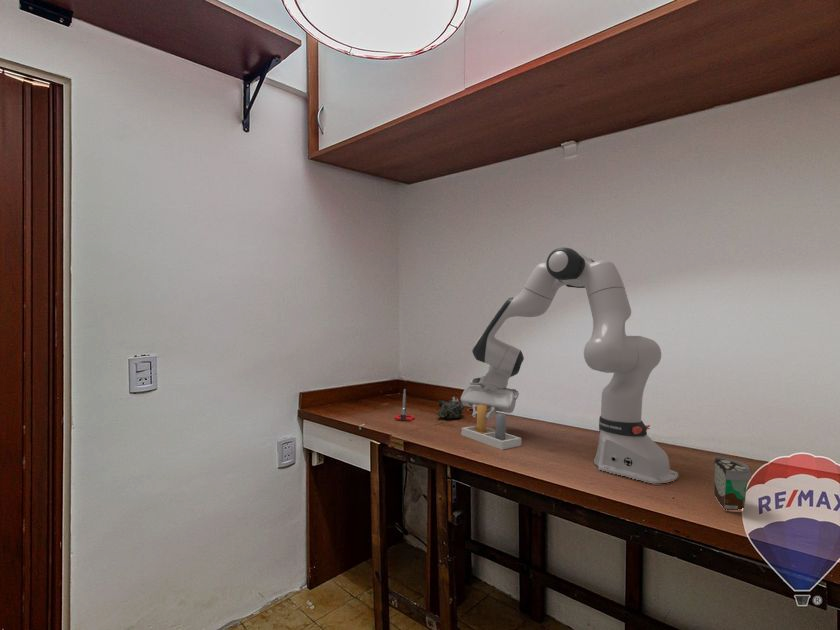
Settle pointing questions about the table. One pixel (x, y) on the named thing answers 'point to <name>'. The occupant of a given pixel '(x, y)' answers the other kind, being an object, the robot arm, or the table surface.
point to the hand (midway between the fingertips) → (480, 417)
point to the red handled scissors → (404, 411)
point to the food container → (730, 482)
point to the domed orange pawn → (481, 419)
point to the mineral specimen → (450, 409)
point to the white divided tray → (491, 438)
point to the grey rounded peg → (500, 426)
